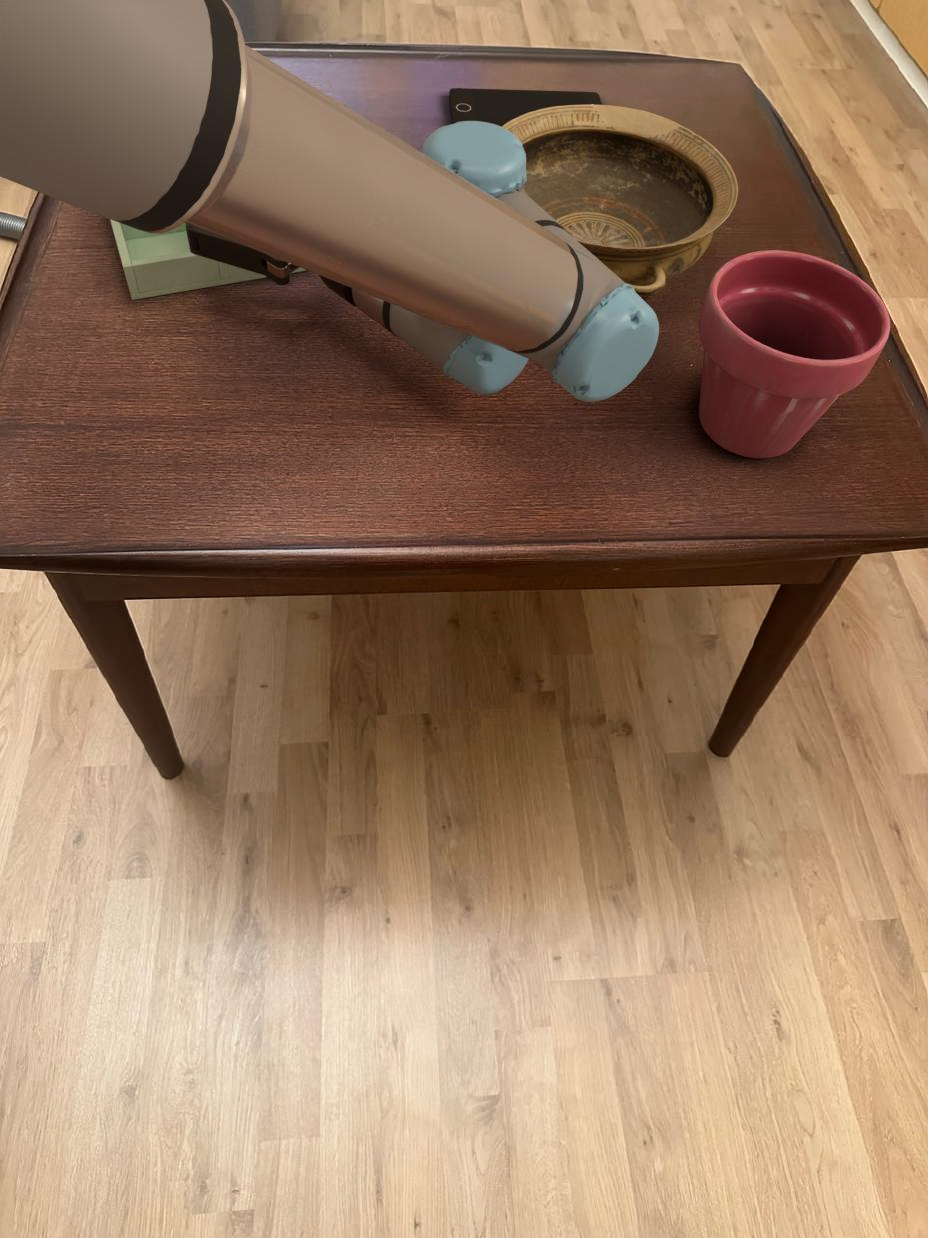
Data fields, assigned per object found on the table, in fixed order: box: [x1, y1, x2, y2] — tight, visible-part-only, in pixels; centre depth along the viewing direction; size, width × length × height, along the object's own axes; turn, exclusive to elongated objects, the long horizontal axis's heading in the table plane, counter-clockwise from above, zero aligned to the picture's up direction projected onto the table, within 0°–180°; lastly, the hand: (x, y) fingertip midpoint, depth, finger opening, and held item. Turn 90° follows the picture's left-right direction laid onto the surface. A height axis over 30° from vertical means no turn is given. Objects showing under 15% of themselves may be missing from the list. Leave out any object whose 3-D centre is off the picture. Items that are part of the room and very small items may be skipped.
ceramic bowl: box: [502, 104, 739, 298], centre depth 92 cm, size 30×24×10 cm
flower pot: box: [697, 249, 891, 459], centre depth 79 cm, size 14×14×13 cm
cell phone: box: [448, 87, 603, 127], centre depth 110 cm, size 9×18×1 cm, turn 94°
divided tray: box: [109, 219, 308, 301], centre depth 93 cm, size 18×18×4 cm
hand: (224, 160), depth 88 cm, fingers open, 12 cm apart
